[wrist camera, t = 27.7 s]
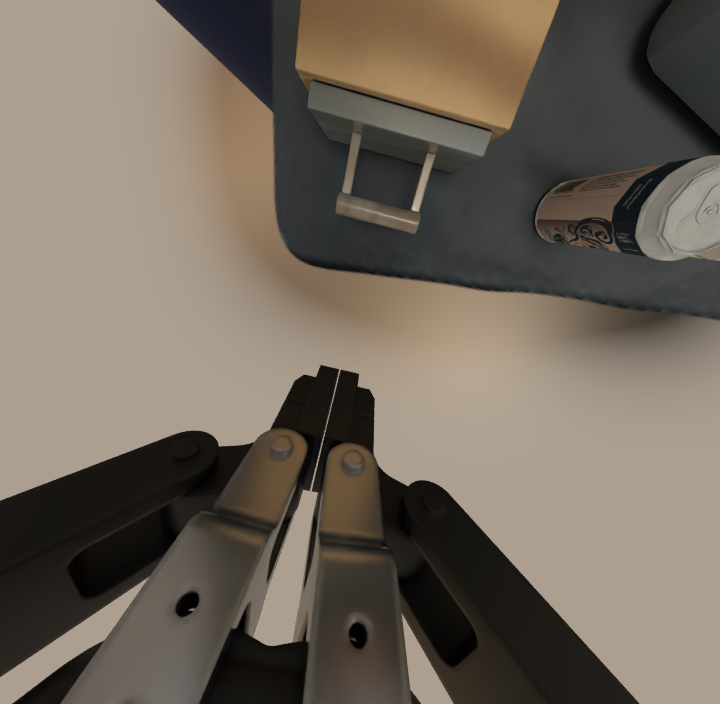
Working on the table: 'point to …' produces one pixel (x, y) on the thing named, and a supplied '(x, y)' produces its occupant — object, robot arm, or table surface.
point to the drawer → (392, 145)
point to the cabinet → (428, 53)
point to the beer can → (639, 210)
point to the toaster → (690, 55)
